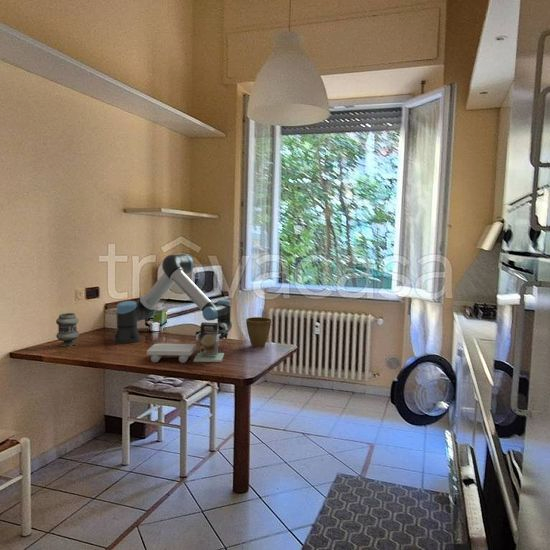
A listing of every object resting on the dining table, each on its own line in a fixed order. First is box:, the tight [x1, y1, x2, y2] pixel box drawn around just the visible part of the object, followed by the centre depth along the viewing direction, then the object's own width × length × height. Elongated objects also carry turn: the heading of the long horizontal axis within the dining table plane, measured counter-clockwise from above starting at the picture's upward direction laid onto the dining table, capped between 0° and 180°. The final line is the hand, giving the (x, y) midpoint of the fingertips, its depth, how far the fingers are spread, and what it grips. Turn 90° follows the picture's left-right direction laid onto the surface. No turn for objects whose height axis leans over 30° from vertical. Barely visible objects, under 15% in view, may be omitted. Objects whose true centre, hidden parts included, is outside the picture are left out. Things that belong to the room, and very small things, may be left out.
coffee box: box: [199, 322, 219, 355], centre depth 241 cm, size 9×6×16 cm
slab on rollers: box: [146, 343, 197, 364], centre depth 239 cm, size 22×16×6 cm
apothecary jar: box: [55, 312, 80, 347], centre depth 265 cm, size 12×12×18 cm
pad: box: [193, 352, 225, 363], centre depth 242 cm, size 14×14×1 cm
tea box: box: [149, 306, 169, 332], centre depth 314 cm, size 15×10×15 cm
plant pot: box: [245, 316, 272, 348], centre depth 269 cm, size 15×15×16 cm
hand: (206, 338), depth 237 cm, fingers closed on coffee box, 10 cm apart
